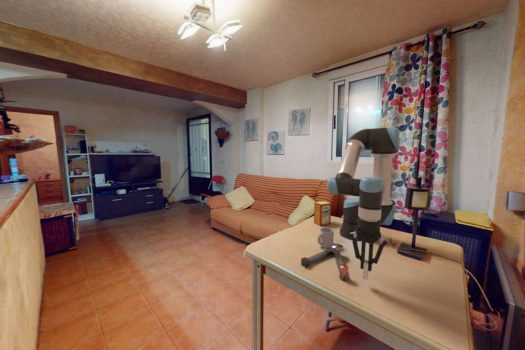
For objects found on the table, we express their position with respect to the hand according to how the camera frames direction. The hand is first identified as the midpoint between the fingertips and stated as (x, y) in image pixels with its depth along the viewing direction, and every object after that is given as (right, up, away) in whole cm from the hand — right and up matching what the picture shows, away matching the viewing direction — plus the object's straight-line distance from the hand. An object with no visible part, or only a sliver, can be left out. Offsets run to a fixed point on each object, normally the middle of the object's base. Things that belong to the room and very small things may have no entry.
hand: (365, 277), depth 77 cm
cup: (-5, 0, +33) cm, 34 cm away
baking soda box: (+3, +4, +67) cm, 67 cm away
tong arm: (-5, -2, +14) cm, 15 cm away
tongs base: (-11, -1, +18) cm, 22 cm away
